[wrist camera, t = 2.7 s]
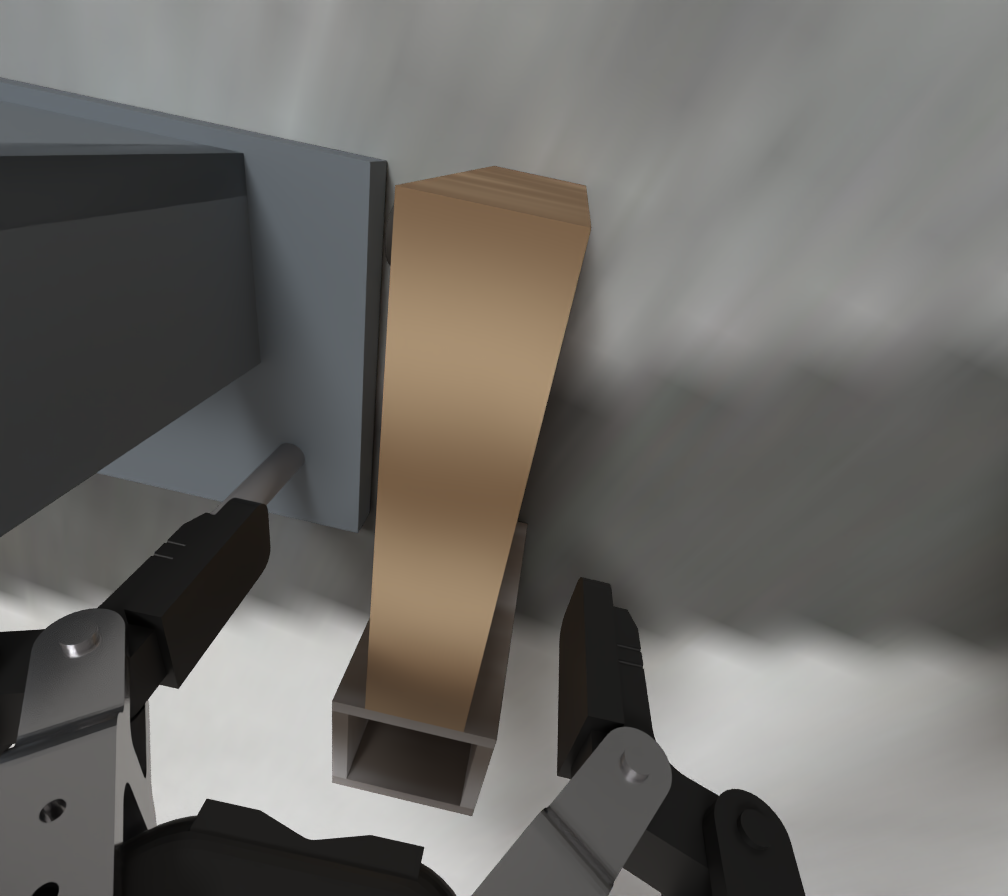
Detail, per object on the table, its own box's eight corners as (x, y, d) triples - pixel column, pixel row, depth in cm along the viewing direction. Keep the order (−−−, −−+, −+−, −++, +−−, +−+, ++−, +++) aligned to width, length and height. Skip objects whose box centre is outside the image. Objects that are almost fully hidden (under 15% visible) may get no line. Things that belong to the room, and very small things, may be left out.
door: (507, 596, 26) (471, 816, 17) (410, 574, 26) (326, 781, 18) (616, 192, 16) (657, 242, 7) (457, 158, 16) (317, 168, 8)
